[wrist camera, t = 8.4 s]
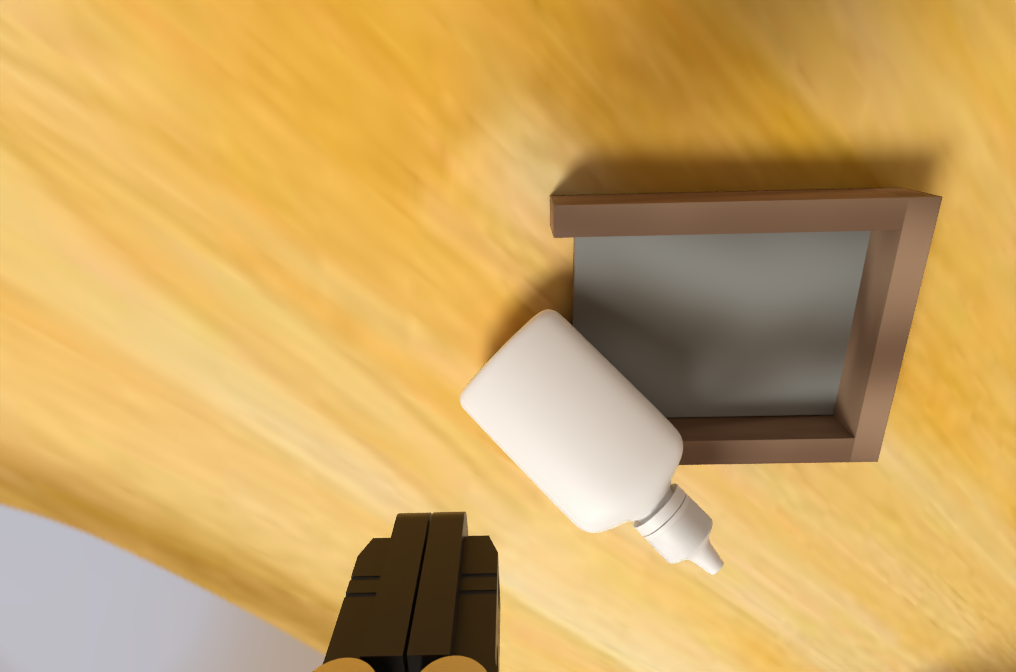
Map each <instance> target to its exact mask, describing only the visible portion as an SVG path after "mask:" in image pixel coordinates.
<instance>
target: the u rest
mask: <svg viewBox="0 0 1016 672" xmlns="http://www.w3.org/2000/svg"><path fill="white" fill-rule="evenodd" d="M941 200H942V197H941V196H937V195H932V194H928V193H923V192H919V191H914V190H909V189H905V188H859V189H816V190H772V191H729V192H685V193H642V194H599V195H555V196H550V227H551V230H552V233H553V236H554V238H565V237H574V253H573V310H572V326H573V327H574V328H575V329H576V330H577V331H578V332H579V333H580V334H581V335H582V336H583V337H584V338H585V339H586V340H587V341H589V342H590V343H591V344H592V345H593V346H594V347H595V348H596V349H597V350H598V351H599V352H600V353H601V354H602V355H603V356H604V357H605V358H606V359H607V360H608V361H609V362H610V363H611V364H612V365H613V366H614V367H615V368H616V369H617V370H618V371H619V372H620V373H621V374H622V375H623V376H624V377H625V378H626V379H627V380H628V381H629V382H630V383H631V384H632V385H633V386H634V387H635V388H636V389H637V390H638V391H639V392H640V393H641V394H642V395H644V396H645V397H646V398H647V399H648V400H649V401H650V402H651V403H652V404H653V405H654V406H655V407H656V408H657V409H658V410H659V411H660V412H661V413H662V414H663V415H664V416H665V417H666V418H667V420H668V421H669V422H670V423H671V424H672V425H673V426H674V427H675V428H676V429H677V431H678V432H679V434H680V435H681V438H682V441H683V453H682V457H681V459H680V462H679V464H678V465H701V464H763V463H825V462H878V458H879V454H880V450H881V446H882V442H883V438H884V434H885V429H886V425H887V421H888V417H889V413H890V409H891V405H892V401H893V397H894V393H895V389H896V384H897V380H898V376H899V372H900V368H901V364H902V360H903V356H904V352H905V348H906V344H907V339H908V335H909V331H910V327H911V323H912V319H913V315H914V311H915V307H916V303H917V299H918V294H919V290H920V286H921V282H922V278H923V274H924V270H925V266H926V262H927V258H928V253H929V249H930V245H931V241H932V237H933V233H934V229H935V225H936V221H937V217H938V213H939V208H940V204H941Z"/></svg>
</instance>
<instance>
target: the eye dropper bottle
mask: <svg viewBox="0 0 1016 672" xmlns="http://www.w3.org/2000/svg"><path fill="white" fill-rule="evenodd" d="M460 403H461V405H462V407H463V408H464V409H465V411H466V412H467V413H468V414H469V415H470V416H471V417H472V418H473V419H474V420H475V421H476V422H477V423H478V424H479V426H480V427H481V428H482V429H483V430H484V431H485V432H486V433H487V434H488V435H489V436H490V437H491V438H492V439H493V440H494V441H495V442H496V443H497V444H498V445H499V447H500V448H501V449H502V450H503V451H504V452H505V453H506V454H507V455H508V456H509V457H510V458H511V459H512V460H513V461H514V462H515V463H516V464H517V465H518V466H519V467H520V469H521V470H522V471H523V472H524V473H525V474H526V475H527V476H528V477H529V478H530V479H531V480H532V481H533V482H534V483H535V484H536V485H537V486H538V487H539V488H540V489H541V490H542V491H543V493H544V494H545V495H546V496H547V497H548V498H549V499H550V500H551V501H552V502H553V503H554V504H555V505H556V506H557V507H558V508H559V509H560V510H561V511H562V512H563V513H564V514H565V515H566V516H567V517H568V518H569V519H570V520H571V521H572V522H573V523H574V524H575V525H576V526H578V527H579V528H580V529H582V530H584V531H587V532H591V533H597V532H603V531H607V530H609V529H612V528H615V527H617V526H619V525H621V524H623V523H625V522H628V521H635V522H634V525H633V526H634V528H635V529H636V530H637V531H638V532H639V533H640V534H641V535H642V536H643V537H644V538H645V539H646V540H647V541H648V542H649V543H650V544H651V545H652V546H653V547H654V548H655V549H656V550H657V551H658V552H659V553H660V554H661V555H662V556H663V557H664V558H665V560H666V561H667V562H669V563H678V562H680V561H683V560H690V561H692V562H694V563H696V564H697V565H698V566H700V567H701V568H703V569H704V570H705V571H707V572H708V573H710V574H711V575H714V574H716V573H717V572H718V571H719V570H720V569H721V568H722V566H723V564H724V562H723V561H722V559H721V558H720V556H719V555H718V553H717V552H716V551H715V549H714V548H713V546H712V545H711V543H710V541H709V534H710V531H711V529H712V519H711V518H710V517H709V516H708V515H707V514H706V513H705V512H704V511H703V510H702V509H701V508H700V507H699V506H698V505H697V504H696V503H695V502H694V501H693V500H692V499H691V498H690V497H689V496H688V495H687V494H686V493H685V492H684V491H683V490H682V489H681V488H680V487H679V486H678V485H677V484H672V485H671V478H672V476H673V474H674V473H675V471H676V469H677V467H678V464H679V462H680V459H681V457H682V453H683V441H682V438H681V435H680V434H679V432H678V431H677V429H676V428H675V427H674V426H673V425H672V424H671V423H670V422H669V421H668V420H667V418H666V417H665V416H664V415H663V414H662V413H661V412H660V411H659V410H658V409H657V408H656V407H655V406H654V405H653V404H652V403H651V402H650V401H649V400H648V399H647V398H646V397H645V396H644V395H642V394H641V393H640V392H639V391H638V390H637V389H636V388H635V387H634V386H633V385H632V384H631V383H630V382H629V381H628V380H627V379H626V378H625V377H624V376H623V375H622V374H621V373H620V372H619V371H618V370H617V369H616V368H615V367H614V366H613V365H612V364H611V363H610V362H609V361H608V360H607V359H606V358H605V357H604V356H603V355H602V354H601V353H600V352H599V351H598V350H597V349H596V348H595V347H594V346H593V345H592V344H591V343H590V342H589V341H587V340H586V339H585V338H584V337H583V336H582V335H581V334H580V333H579V332H578V331H577V330H576V329H575V328H574V327H573V326H572V325H571V324H570V323H569V322H568V321H567V320H566V319H565V318H564V317H563V316H562V315H561V314H559V313H558V312H556V311H554V310H551V309H546V310H543V311H541V312H539V313H538V314H536V315H535V316H534V317H533V318H532V319H530V320H529V321H528V322H527V323H526V324H525V325H524V326H523V327H522V328H521V329H520V330H519V331H517V332H516V333H515V334H514V335H513V336H512V337H511V338H510V339H509V340H508V341H507V342H506V343H505V344H504V345H503V346H502V347H501V348H500V349H499V350H498V351H497V352H496V353H495V354H494V355H493V356H492V357H491V358H490V360H489V361H488V362H487V363H486V364H485V365H484V366H483V367H482V368H481V369H480V370H479V371H478V373H477V374H476V375H475V376H474V377H473V378H472V379H471V381H470V382H469V383H468V384H467V385H466V387H465V388H464V389H463V391H462V393H461V395H460Z"/></svg>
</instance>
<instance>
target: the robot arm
mask: <svg viewBox="0 0 1016 672" xmlns="http://www.w3.org/2000/svg"><path fill="white" fill-rule="evenodd" d="M499 644H500V587H499V566H498V552H497V550H496V548H495V547H494V545H493V543H492V541H491V539H490V537H489V536H468V527H467V515H466V512H435V513H433V514H431V513H399V514H398V515H397V517H396V520H395V524H394V528H393V532H392V535H391V538H373V539H372V540H371V541H370V543H369V544H368V545H367V546H366V547H365V548H364V550H363V551H362V552H361V553H360V554H359V555H358V557H357V560H356V564H355V567H354V570H353V573H352V576H351V580H350V582H349V585H348V588H347V591H346V597H345V598H344V601H343V604H342V607H341V610H340V613H339V616H338V619H337V622H336V625H335V629H334V632H333V635H332V638H331V641H330V644H329V647H328V650H327V653H326V656H325V660H324V662H323V664H322V665H321V666H320V667H318V668H317V669H315V670H314V671H313V672H499V651H500V646H499Z"/></svg>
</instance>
